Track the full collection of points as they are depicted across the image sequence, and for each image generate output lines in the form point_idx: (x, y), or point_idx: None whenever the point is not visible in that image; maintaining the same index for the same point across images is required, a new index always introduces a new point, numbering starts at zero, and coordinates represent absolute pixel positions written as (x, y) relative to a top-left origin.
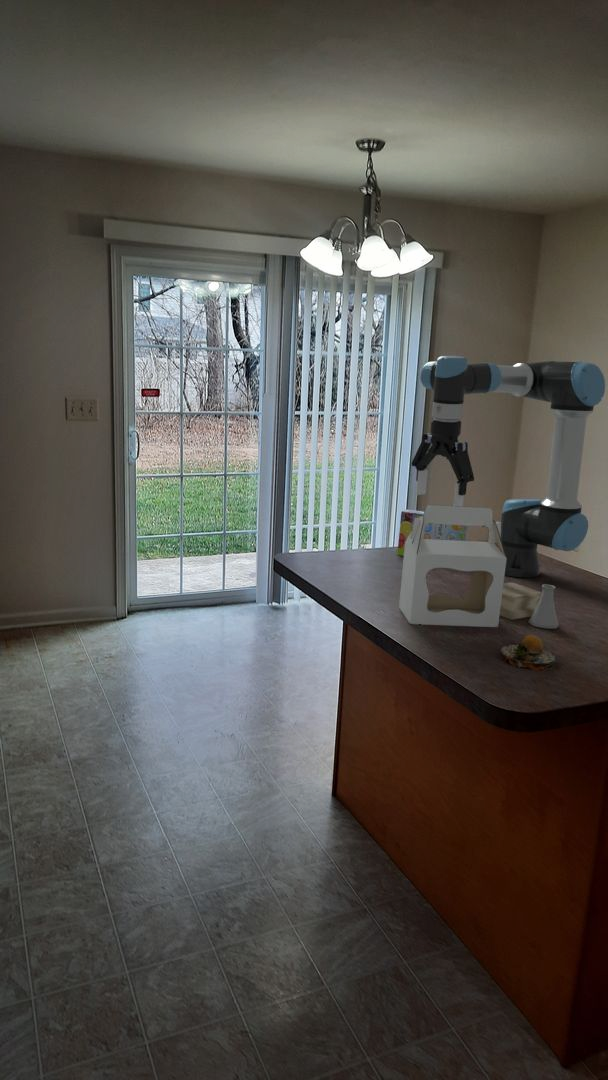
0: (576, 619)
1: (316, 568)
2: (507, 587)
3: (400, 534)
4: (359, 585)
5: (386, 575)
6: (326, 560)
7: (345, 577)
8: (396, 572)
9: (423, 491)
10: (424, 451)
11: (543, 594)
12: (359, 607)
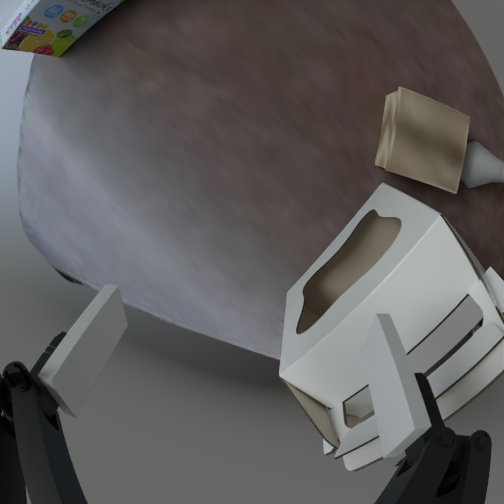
0: (480, 92)
1: (72, 241)
2: (418, 136)
3: (34, 51)
4: (160, 253)
5: (128, 159)
6: (45, 194)
7: (117, 238)
8: (121, 125)
9: (115, 309)
10: (7, 488)
11: (499, 180)
12: (253, 336)
